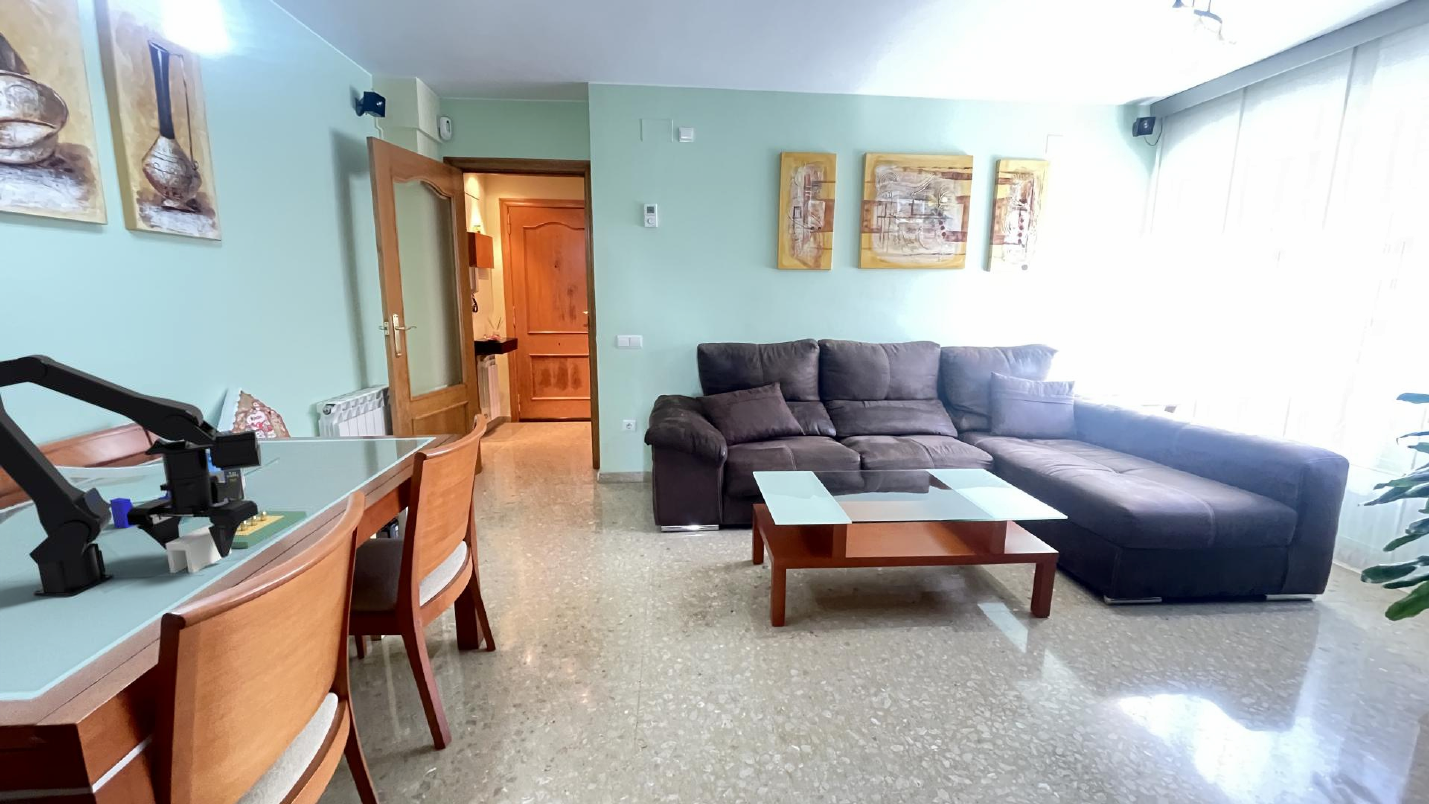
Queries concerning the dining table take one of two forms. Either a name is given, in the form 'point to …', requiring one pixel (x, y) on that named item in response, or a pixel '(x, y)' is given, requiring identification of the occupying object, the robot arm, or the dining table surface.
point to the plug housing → (192, 551)
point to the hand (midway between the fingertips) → (201, 556)
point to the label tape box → (228, 479)
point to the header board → (264, 526)
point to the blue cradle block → (124, 510)
